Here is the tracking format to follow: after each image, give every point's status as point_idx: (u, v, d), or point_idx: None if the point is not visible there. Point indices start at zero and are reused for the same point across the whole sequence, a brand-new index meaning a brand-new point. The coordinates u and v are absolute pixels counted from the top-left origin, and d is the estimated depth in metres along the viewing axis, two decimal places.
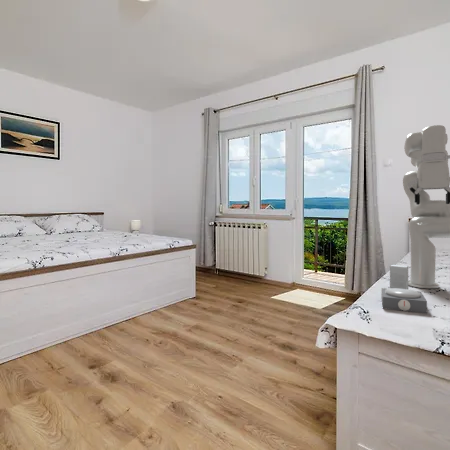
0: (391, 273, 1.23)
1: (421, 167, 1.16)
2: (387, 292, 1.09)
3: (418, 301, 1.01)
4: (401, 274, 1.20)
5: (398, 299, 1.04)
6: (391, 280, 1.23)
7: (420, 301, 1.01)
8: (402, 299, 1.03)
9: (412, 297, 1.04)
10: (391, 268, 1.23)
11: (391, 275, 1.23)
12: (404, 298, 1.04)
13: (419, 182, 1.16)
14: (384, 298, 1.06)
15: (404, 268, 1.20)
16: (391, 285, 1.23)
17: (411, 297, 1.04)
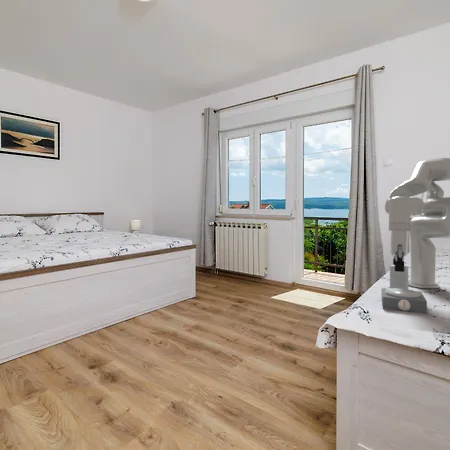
0: (391, 273, 1.23)
1: (405, 235, 1.17)
2: (387, 292, 1.09)
3: (418, 301, 1.01)
4: (401, 274, 1.20)
5: (398, 299, 1.04)
6: (391, 280, 1.23)
7: (420, 301, 1.01)
8: (402, 299, 1.03)
9: (412, 297, 1.04)
10: (391, 268, 1.23)
11: (391, 275, 1.23)
12: (404, 298, 1.04)
13: (405, 250, 1.17)
14: (384, 298, 1.06)
15: (404, 268, 1.20)
16: (391, 285, 1.23)
17: (411, 297, 1.04)
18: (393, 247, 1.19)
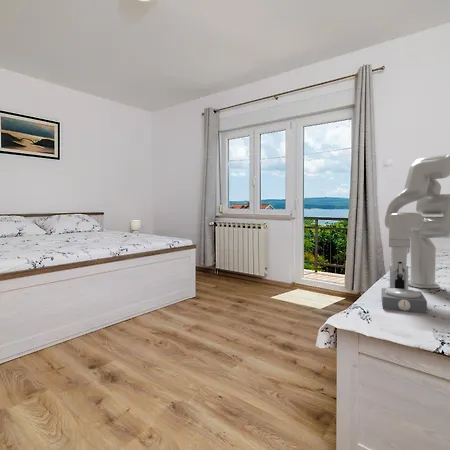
0: (391, 273, 1.23)
1: (405, 252, 1.18)
2: (387, 292, 1.09)
3: (418, 301, 1.01)
4: None
5: (398, 299, 1.04)
6: (391, 280, 1.23)
7: (420, 301, 1.01)
8: (402, 299, 1.03)
9: (412, 297, 1.04)
10: None
11: (391, 275, 1.23)
12: (404, 298, 1.04)
13: (405, 267, 1.18)
14: (384, 298, 1.06)
15: None
16: (391, 285, 1.23)
17: (411, 297, 1.04)
18: (393, 264, 1.19)
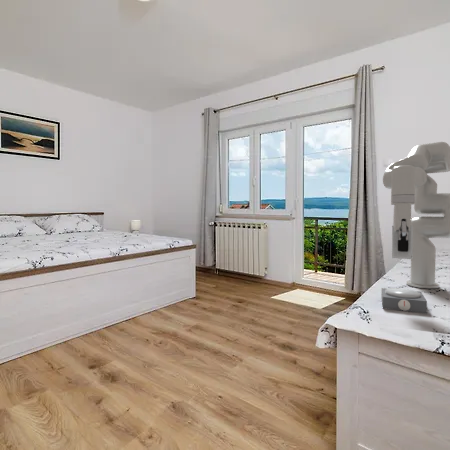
0: (394, 233, 1.10)
1: (410, 208, 1.05)
2: (387, 292, 1.09)
3: (418, 301, 1.01)
4: None
5: (398, 299, 1.04)
6: (394, 241, 1.10)
7: (420, 301, 1.01)
8: (402, 299, 1.03)
9: (412, 297, 1.04)
10: None
11: (394, 236, 1.10)
12: (404, 298, 1.04)
13: (410, 224, 1.05)
14: (384, 298, 1.06)
15: None
16: (394, 247, 1.10)
17: (411, 297, 1.04)
18: (396, 222, 1.06)
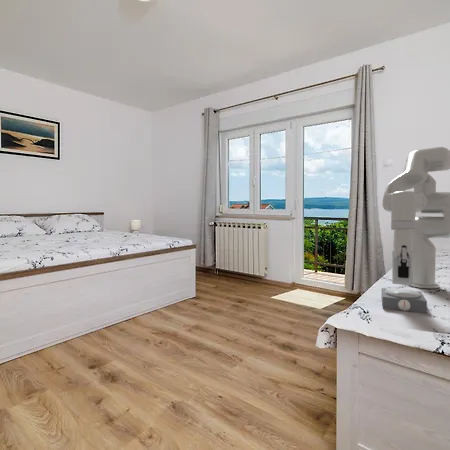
0: (394, 259, 1.09)
1: (410, 235, 1.04)
2: (387, 292, 1.09)
3: (418, 301, 1.01)
4: None
5: (398, 299, 1.04)
6: (394, 267, 1.09)
7: (420, 301, 1.01)
8: (402, 299, 1.03)
9: (412, 297, 1.04)
10: None
11: (394, 261, 1.09)
12: (404, 298, 1.04)
13: (410, 251, 1.04)
14: (384, 298, 1.06)
15: None
16: (394, 272, 1.09)
17: (411, 297, 1.04)
18: (396, 248, 1.05)
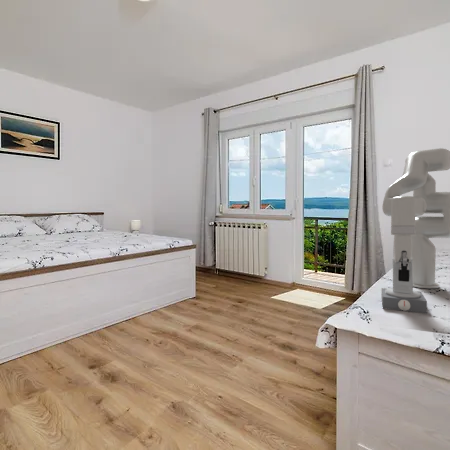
0: (394, 267, 1.09)
1: (410, 240, 1.04)
2: (387, 292, 1.09)
3: (418, 301, 1.01)
4: None
5: (398, 299, 1.04)
6: (395, 275, 1.09)
7: (420, 301, 1.01)
8: (402, 299, 1.03)
9: (412, 297, 1.04)
10: None
11: (394, 269, 1.09)
12: (404, 298, 1.04)
13: (410, 257, 1.04)
14: (384, 298, 1.06)
15: None
16: (394, 281, 1.09)
17: (411, 297, 1.04)
18: (396, 253, 1.05)
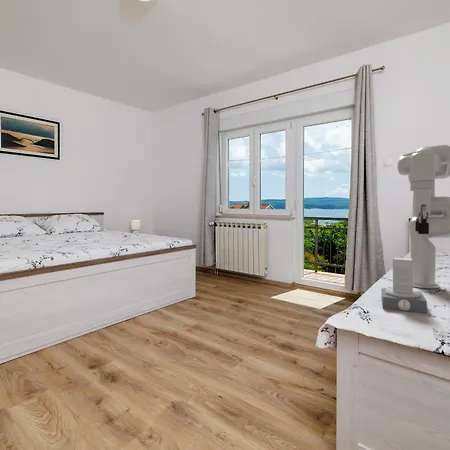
0: (394, 267, 1.09)
1: (429, 194, 1.07)
2: (387, 292, 1.09)
3: (418, 301, 1.01)
4: (406, 268, 1.07)
5: (398, 299, 1.04)
6: (395, 275, 1.09)
7: (420, 301, 1.01)
8: (402, 299, 1.03)
9: (412, 297, 1.04)
10: (394, 261, 1.09)
11: (394, 269, 1.09)
12: (404, 298, 1.04)
13: (429, 210, 1.07)
14: (384, 298, 1.06)
15: (409, 261, 1.06)
16: (394, 281, 1.09)
17: (411, 297, 1.04)
18: (416, 208, 1.09)
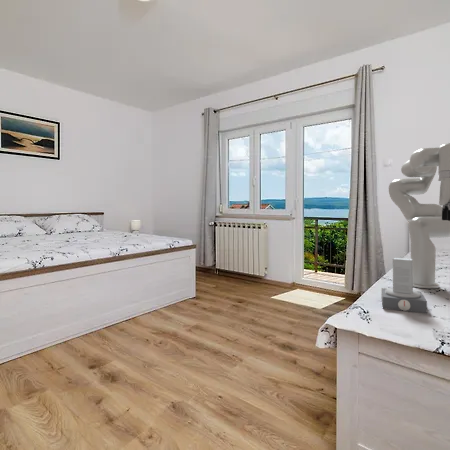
0: (394, 267, 1.09)
1: None
2: (387, 292, 1.09)
3: (418, 301, 1.01)
4: (406, 268, 1.07)
5: (398, 299, 1.04)
6: (395, 275, 1.09)
7: (420, 301, 1.01)
8: (402, 299, 1.03)
9: (412, 297, 1.04)
10: (394, 261, 1.09)
11: (394, 269, 1.09)
12: (404, 298, 1.04)
13: None
14: (384, 298, 1.06)
15: (409, 261, 1.06)
16: (394, 281, 1.09)
17: (411, 297, 1.04)
18: (445, 196, 1.14)
